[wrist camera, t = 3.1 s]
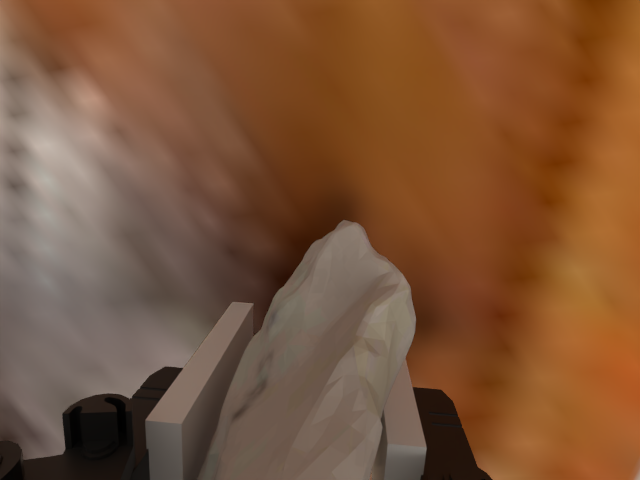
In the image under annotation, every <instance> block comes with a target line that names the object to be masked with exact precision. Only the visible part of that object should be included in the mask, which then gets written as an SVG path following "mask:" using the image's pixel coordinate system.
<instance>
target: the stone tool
mask: <svg viewBox="0 0 640 480" xmlns="http://www.w3.org/2000/svg"><path fill="white" fill-rule="evenodd" d="M415 325H416V316H415V311H414V307H413V303H412V297H411V288H410V285H409V284H408V282H407V280H406V279H405V277H404V275H403V274H402V273H401V272H400V271H399V270H398V269H397V268H396V267H395V266H394V265H393V263H391V262H390V261H389V260H388V259H387V258H386V257H384V256H382V255H380V254H379V253H378V252H376V251H375V250H374V249H373V248H372V246H371V244H370V241H369V239H368V237H367V234H366V232H365V229H364V228H363V227H362V226H361V225H360V224H358V223H356V222H350V221H347V220H343V221H342V222H340V223H339V224H338V225H337V227H336V229H335V230H334V231H332V232H330V233H328V234H327V235H326V236H324V237H323V238H322V239H319V240H316V241H315V242H314V243H313V244H312V245H311V246H310V248H309V249H308V251H307V252H306V254H305V256H304V258H303V260H302V262H301V263H300V264H299V266H298V267H297V268H296V270H295V271H294V273H293V274H292V276H291V277H290V279H289V280H288V281H287V283H286V284H285V285H284V286H283V287H282V288H280V289H279V290H278V292H277V293H276V294H275V296H274V298H273V300H272V303H271V305H270V307H269V310H268V312H267V314H266V316H265V318H264V322H263V325H262V328H261V330H260V331H259V332H258V333H257V334H256V335H254V336H253V338H252V339H251V341H250V342H249V344H248V346H247V348H246V350H245V352H244V354H243V356H242V358H241V360H240V363H239V365H238V367H237V370H236V372H235V375H234V377H233V379H232V382H231V384H230V387H229V390H228V392H227V395H226V398H225V401H224V403H223V406H222V409H221V413H220V418H219V422H218V426H217V429H216V431H215V433H214V436H213V438H212V440H211V443H210V445H209V447H208V451H207V454H206V458H205V461H204V464H203V466H202V468H201V470H200V472H199V475H198V477H197V479H196V480H369V478H370V474H371V470H372V467H373V463H374V460H375V457H376V453H377V450H378V447H379V443H380V439H381V434H382V428H383V426H382V423H381V417H382V413H383V409H384V407H385V404H386V402H387V399H388V397H389V394H390V391H391V389H392V386H393V384H394V382H395V380H396V377H397V375H398V373H399V370H400V368H401V366H402V364H403V361H404V359H405V357H406V355H407V352H408V350H409V348H410V346H411V343H412V340H413V337H414V333H415Z"/></svg>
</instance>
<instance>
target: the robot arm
mask: <svg viewBox="0 0 640 480" xmlns="http://www.w3.org/2000/svg"><path fill="white" fill-rule="evenodd" d="M253 315H254V303H242V302H232V303H231V304H230V306H229V307H228V308H227V310H226V311H225V313H224V314H223V315H222V317H221V318H220V319H219V321H218V322H217V323H216V325H215V326H214V327H213V329H212V330H211V332H210V333H209V334H208V336H207V337H206V338H205V340H204V341H203V342H202V344H201V345H200V346H199V348H198V349H197V351H196V352H195V353H194V355H193V356H192V357H191V359H190V360H189V361H188V363H187V364H186V366H185V367H184V368H176V367H164V368H162V369H160V370H159V371H157V372H155V373H154V374H152V375H150V376H149V377H148V379H147V380H146V381H145V382H144V383H143V384H142V386H141V387H140V389H138V390H137V391H136V393H135V394H134V395H133V397H132V399H131V398H130V400H129V398H127V397H125V396H122V395H120V394H101V395H94V396H91V397H88V398H85V399H82V400H80V401H78V402H76V403H75V404H73V405H71V406H70V407H69V408H68V409H67V410H66V411H65V412H64V413H63V414H62V416H63V426H64V436H65V447H66V449H65V451H64V453H63V454H62V455H57V456H51V457H44V458H36V459H29V460H23V455H22V449H21V448H20V447H19V445H18V444H16V443H13V442H10V441H0V480H196V479H197V477H198V475H199V472H200V470H201V468H202V466H203V464H204V461H205V458H206V454H207V451H208V447H209V445H210V443H211V440H212V438H213V436H214V433H215V431H216V429H217V426H218V422H219V418H220V413H221V409H222V406H223V403H224V401H225V398H226V395H227V392H228V390H229V387H230V384H231V382H232V379H233V377H234V375H235V372H236V370H237V367H238V365H239V363H240V360H241V358H242V356H243V354H244V352H245V350H246V348H247V346H248V344H249V342H250V341H251V339H252V338H253ZM381 423H382V426H383V428H382V434H381V439H380V443H379V447H378V450H377V453H376V457H375V460H374V463H373V467H372V480H492V479H491V477H490V476H489V475H488V474H487V473H486V472H484V471H483V470H481V469H480V468H478V467H477V464H476V461H475V459H474V456H473V454H472V451H471V448H470V446H469V443H468V440H467V438H466V435H465V432H464V430H463V428H462V424H461V422H460V419H459V417H458V414H457V411H456V409H455V406H454V403H453V401H452V400H451V399H450V398H449V397H448V396H447V395H446V394H445V393H444V392H443V391H442V390H439V389H427V388H416V387H412V383H411V379H410V375H409V371H408V367H407V362H406V358H405V359H404V361H403V364H402V366H401V368H400V370H399V373H398V375H397V377H396V380H395V382H394V384H393V386H392V389H391V391H390V394H389V397H388V399H387V402H386V404H385V407H384V409H383V413H382V417H381Z"/></svg>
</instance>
